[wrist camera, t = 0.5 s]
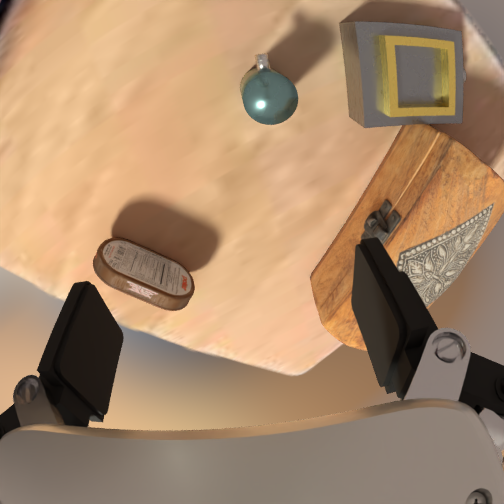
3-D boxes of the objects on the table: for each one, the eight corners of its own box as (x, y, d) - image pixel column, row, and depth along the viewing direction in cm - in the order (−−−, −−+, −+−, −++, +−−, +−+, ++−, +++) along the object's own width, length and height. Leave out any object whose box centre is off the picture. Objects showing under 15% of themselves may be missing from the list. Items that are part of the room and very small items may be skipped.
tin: (102, 241, 44) (84, 279, 37) (108, 226, 43) (89, 263, 36) (190, 280, 50) (186, 321, 43) (199, 267, 48) (195, 308, 42)
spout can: (233, 56, 30) (234, 59, 24) (278, 49, 30) (291, 51, 24) (244, 111, 35) (248, 128, 28) (286, 104, 34) (301, 120, 28)
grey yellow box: (339, 23, 28) (360, 21, 23) (447, 30, 27) (478, 34, 22) (349, 116, 35) (369, 132, 30) (449, 112, 35) (478, 127, 30)
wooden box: (404, 106, 35) (469, 143, 24) (473, 162, 40) (530, 208, 29) (298, 274, 51) (316, 345, 40) (374, 297, 56) (400, 358, 45)
